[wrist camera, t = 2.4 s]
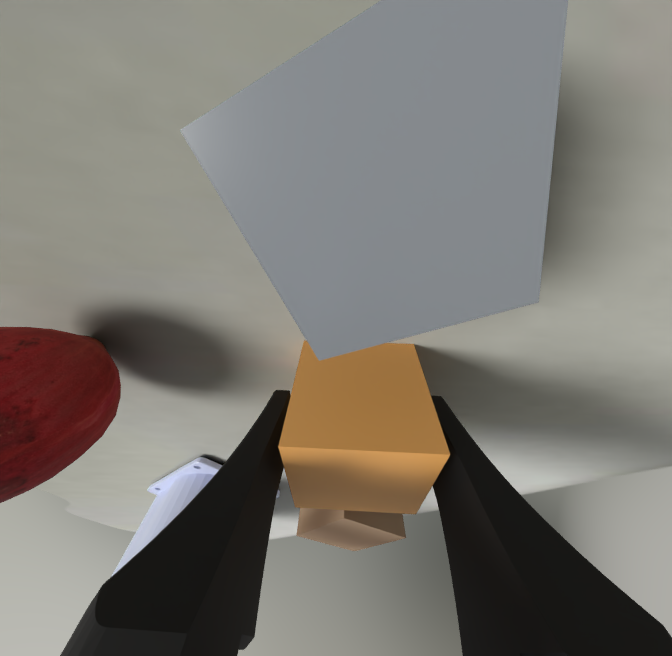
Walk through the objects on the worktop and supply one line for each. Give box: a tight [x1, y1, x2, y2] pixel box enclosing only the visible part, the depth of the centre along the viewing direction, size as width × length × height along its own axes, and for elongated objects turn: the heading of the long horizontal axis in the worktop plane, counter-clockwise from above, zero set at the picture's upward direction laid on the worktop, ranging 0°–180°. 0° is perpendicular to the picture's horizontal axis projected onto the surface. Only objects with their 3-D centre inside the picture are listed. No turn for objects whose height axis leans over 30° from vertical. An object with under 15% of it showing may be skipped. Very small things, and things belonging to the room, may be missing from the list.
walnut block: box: [297, 508, 406, 551], centre depth 16 cm, size 4×4×4 cm
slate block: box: [180, 0, 568, 361], centre depth 6 cm, size 4×4×4 cm
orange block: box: [278, 341, 450, 514], centre depth 10 cm, size 5×5×5 cm
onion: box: [0, 327, 121, 503], centre depth 8 cm, size 6×6×8 cm
